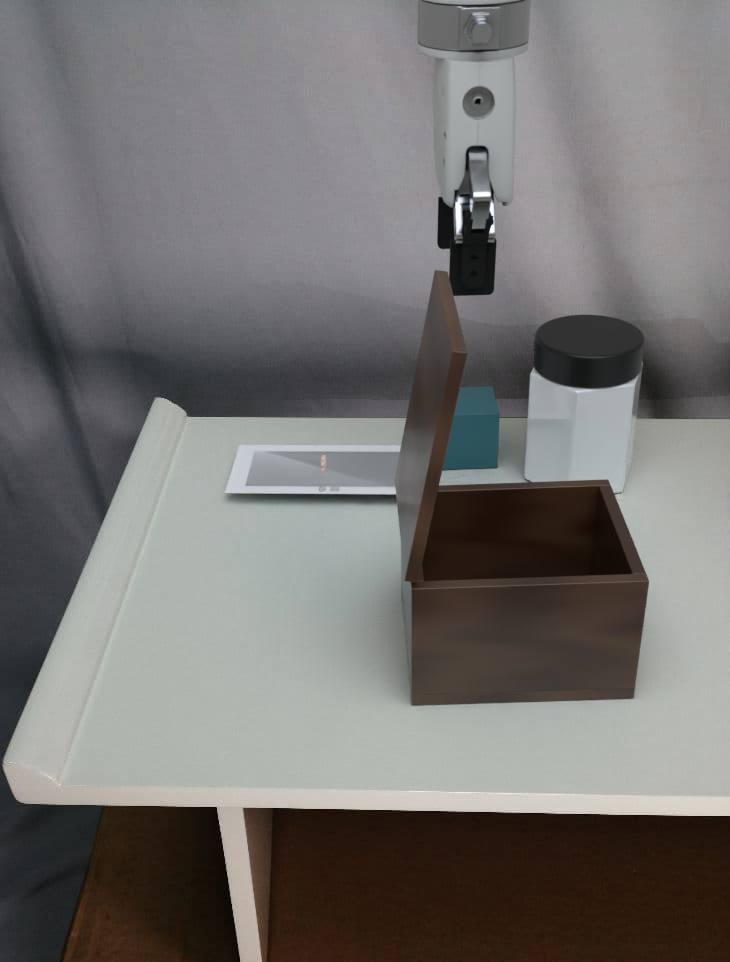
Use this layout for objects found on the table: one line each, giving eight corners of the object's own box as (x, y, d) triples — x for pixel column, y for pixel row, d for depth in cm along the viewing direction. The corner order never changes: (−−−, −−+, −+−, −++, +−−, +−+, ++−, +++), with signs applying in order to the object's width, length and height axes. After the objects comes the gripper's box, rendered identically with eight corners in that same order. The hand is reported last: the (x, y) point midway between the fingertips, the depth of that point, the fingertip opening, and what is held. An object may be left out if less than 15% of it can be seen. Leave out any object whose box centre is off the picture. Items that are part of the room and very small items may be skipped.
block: (490, 439, 100) (492, 385, 97) (497, 468, 96) (499, 413, 93) (431, 441, 100) (432, 388, 98) (436, 470, 96) (436, 415, 93)
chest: (597, 588, 82) (608, 478, 77) (633, 698, 72) (649, 580, 67) (401, 594, 82) (400, 486, 77) (411, 705, 72) (411, 589, 67)
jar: (611, 442, 99) (625, 308, 92) (650, 491, 92) (668, 349, 85) (508, 455, 98) (515, 320, 91) (540, 505, 91) (549, 362, 84)
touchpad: (240, 456, 99) (238, 433, 98) (417, 457, 98) (417, 434, 97) (226, 504, 93) (223, 481, 92) (415, 506, 92) (415, 482, 90)
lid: (448, 271, 69) (434, 269, 69) (468, 352, 59) (452, 350, 59) (406, 481, 77) (394, 479, 77) (418, 583, 67) (404, 581, 67)
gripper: (549, 50, 72) (531, 313, 81) (511, 2, 86) (499, 230, 96) (427, 54, 72) (423, 316, 82) (409, 6, 87) (407, 233, 96)
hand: (464, 269), depth 89 cm, fingers open, 9 cm apart
